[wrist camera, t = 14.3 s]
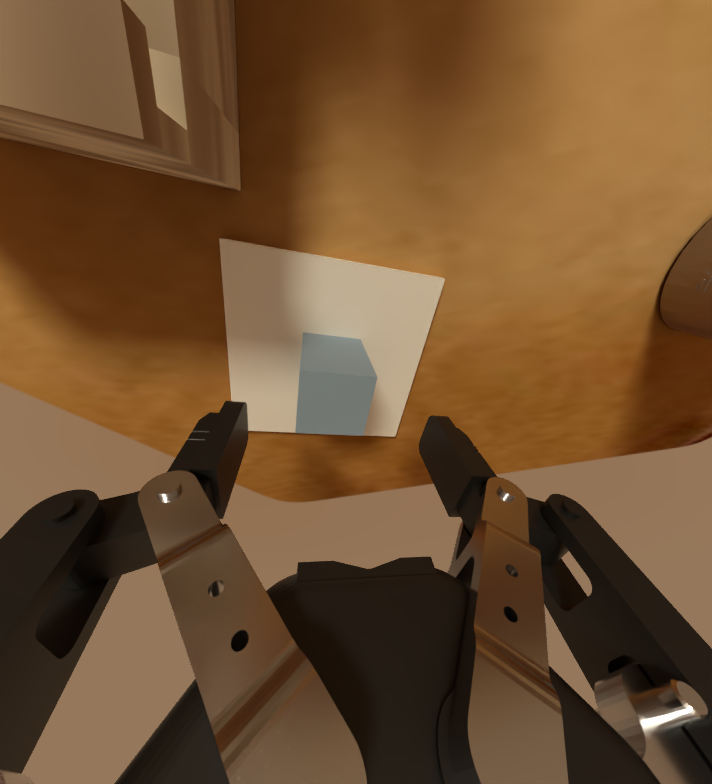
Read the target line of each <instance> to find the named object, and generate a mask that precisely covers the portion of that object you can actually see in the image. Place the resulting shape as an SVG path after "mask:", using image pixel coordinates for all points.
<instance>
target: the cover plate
mask: <svg viewBox="0 0 712 784" xmlns="http://www.w3.org/2000/svg"><path fill="white" fill-rule="evenodd" d="M219 243H220V256H221V270H222V283H223V296H224V309H225V322H226V335H227V348H228V361H229V374H230V387H231V400H232V401H236V402H246V403H247V414H248V431H267V432H292V433H306V434H331V435H356V436H364V435H366V436H391V437H395V436H396V433H397V430H398V426H399V423H400V420H401V417H402V414H403V411H404V407H405V404H406V401H407V398H408V395H409V392H410V389H411V385H412V382H413V379H414V376H415V373H416V370H417V366H418V363H419V360H420V357H421V354H422V351H423V348H424V344H425V341H426V338H427V335H428V332H429V329H430V325H431V322H432V319H433V316H434V313H435V310H436V307H437V303H438V300H439V297H440V294H441V291H442V288H443V284H444V281H445V279H444V278H441V277H436V276H430V275H425V274H419V273H414V272H408V271H403V270H397V269H392V268H386V267H381V266H375V265H370V264H364V263H359V262H353V261H348V260H342V259H337V258H331V257H325V256H320V255H314V254H309V253H303V252H298V251H292V250H287V249H281V248H276V247H270V246H265V245H259V244H254V243H248V242H243V241H237V240H232V239H226V238H219Z"/></svg>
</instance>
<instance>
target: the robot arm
mask: <svg viewBox="0 0 712 784" xmlns="http://www.w3.org/2000/svg"><path fill="white" fill-rule="evenodd" d="M660 311H661V316H662V319H663V320H664V322H665V323H666V325H667V326H669V327H671V328H672V329H674V330H678V331H681V332H685V333H689V334H692V335H696V336H699V337H703V338H707V339H710V340H712V218H711V219H710V220H709V221H708V222H707V223H706V225H705V226H704V227H703V228H702V229H701V230H700V231H699V232H698V233H697V234H696V235H695V236H694V238H693V239H692V240H691V241H690V243H689V244H688V245H687V246H686V248H685V249H684V250H683V252H682V253H681V255H680V256H679V258H678V259H677V261H676V263H675V264H674V266H673V267H672V269H671V272H670V274H669V276H668V278H667V280H666V282H665V285H664V288H663V292H662V295H661V303H660ZM247 441H248V414H247V403H246V402H236V401H225V403H224V405H223V407H222V408H221V410H220V412H219V413H209V414H207V415H206V416H204V417H203V418H202V419H200V420H199V421H198V423H197V424H196V426H195V428H194V429H193V432H192V433H191V434H190V436H189V437H188V440H187V441H186V442H185V444H184V445H183V447H182V449H181V450H180V452H179V454H178V455H177V457H176V458H175V460H174V462H173V463H172V465H171V467H170V468H169V470H168V471H167V472H166V473H163V474H161V475H158V476H156V477H155V478H153V479H151V480H150V481H149V482H147V483H146V484H145V485H144V486H143V488H142V489H141V490H140V491H138V492H134V493H131V494H126V495H122V496H117V497H113V498H108V499H104V500H99V498H98V496H97V495H96V494H95V493H94V492H92V491H89V490H72V491H66V492H63V493H60V494H57V495H54V496H52V497H49V498H47V499H45V500H43V501H42V502H40V503H38V504H37V505H35V506H34V507H32V508H31V509H30V510H28V511H27V512H26V513H25V514H24V515H23V516H22V517H21V518H20V519H19V520H18V521H17V522H16V523H15V524H14V526H13V527H12V528H11V529H10V530H9V531H8V532H7V533H6V534H5V535H4V536H3V537H2V538H1V539H0V784H34V782H33V781H32V780H31V779H30V777H28V776H26V775H24V774H21V773H22V771H23V769H24V767H25V765H26V763H27V761H28V760H29V757H30V756H31V754H32V751H33V750H34V748H35V746H36V744H37V741H38V740H39V738H40V736H41V734H42V732H43V730H44V727H45V726H46V724H47V722H48V720H49V718H50V716H51V714H52V712H53V710H54V708H55V706H56V704H57V702H58V700H59V698H60V696H61V694H62V692H63V690H64V688H65V686H66V684H67V682H68V680H69V678H70V676H71V674H72V672H73V670H74V668H75V666H76V664H77V662H78V660H79V658H80V656H81V654H82V652H83V650H84V648H85V646H86V644H87V643H88V641H89V639H90V637H91V635H92V633H93V631H94V629H95V627H96V625H97V623H98V621H99V619H100V616H101V615H102V613H103V611H104V609H105V607H106V604H107V603H108V601H109V599H110V597H111V595H112V593H113V591H114V589H115V587H116V585H117V583H118V581H119V579H120V577H121V575H122V574H126V573H128V572H132V571H135V570H138V569H140V568H143V567H147V566H150V565H153V564H155V563H158V566H159V569H160V572H161V575H162V578H163V581H164V585H165V588H166V591H167V594H168V597H169V599H170V603H171V606H172V609H173V611H174V615H175V618H176V621H177V624H178V627H179V630H180V633H181V636H182V639H183V642H184V645H185V648H186V651H187V654H188V657H189V660H190V663H191V666H192V669H193V672H194V675H195V678H196V679H195V680H194V681H193V682H192V684H191V685H190V686H189V688H188V689H187V690H186V692H185V693H184V694H183V696H182V697H181V698H180V699H179V701H178V702H177V703H176V704H175V706H174V707H173V708H172V710H171V711H170V712H169V714H168V715H167V716H166V718H165V719H164V720H163V721H162V723H161V724H160V725H159V727H158V728H157V729H156V730H155V732H154V733H153V734H152V736H151V737H150V738H149V740H148V741H147V742H146V744H145V745H144V746H143V747H142V749H141V750H140V751H139V753H138V754H137V755H136V756H135V758H134V759H133V760H132V762H131V763H130V764H129V766H128V767H127V768H126V769H125V771H124V772H123V773H122V775H121V776H120V777H119V778H118V780H117V781H116V782H115V784H712V649H711V648H710V646H709V645H708V644H707V643H706V642H705V641H704V640H703V639H702V638H701V637H700V636H699V634H698V633H697V632H696V631H695V630H694V629H693V628H692V627H691V626H690V624H689V623H688V622H687V621H686V620H685V619H684V618H683V617H682V615H681V614H680V613H679V612H678V611H677V610H676V609H675V608H674V607H673V606H672V604H671V603H670V602H669V601H668V600H667V599H666V598H665V597H664V596H663V595H662V593H661V592H660V591H659V590H658V589H657V588H656V587H655V586H654V585H653V584H652V582H651V581H650V580H649V579H648V578H647V577H646V576H645V575H644V573H643V572H642V571H641V570H640V569H639V568H638V567H637V566H636V565H635V563H634V562H633V561H632V560H631V559H630V558H629V557H628V556H627V555H626V554H625V553H624V551H623V550H622V549H621V548H620V547H619V546H618V545H617V544H616V543H615V541H614V540H613V539H612V538H611V537H610V536H609V535H608V534H607V533H606V532H605V530H604V529H603V528H602V527H601V526H600V525H599V524H598V523H597V521H596V520H595V519H594V518H593V517H592V516H591V515H590V514H589V513H588V511H586V509H584V508H583V507H582V506H581V505H580V504H578V503H577V502H576V501H574V500H572V499H571V498H568V497H566V496H564V495H560V494H552V495H550V496H549V498H548V499H547V500H546V501H545V502H542V501H539V500H535V499H532V498H528V497H526V496H525V494H524V493H523V491H522V490H521V489H519V487H517V486H516V485H515V484H513V483H512V482H510V481H508V480H506V479H504V478H500V477H497V476H496V475H495V473H494V472H493V470H492V469H491V468H490V466H489V465H488V464H487V462H486V461H485V460H484V458H483V457H482V455H481V454H480V453H478V450H477V449H476V447H475V446H473V443H472V442H471V440H470V439H469V438H468V436H467V435H466V434H465V433H463V432H462V431H461V430H460V429H458V428H456V427H455V426H454V424H453V423H452V421H451V420H450V419H449V417H446V416H430V417H429V418H428V421H427V423H426V426H425V429H424V431H423V434H422V436H421V439H420V442H419V451H420V455H421V457H422V459H423V461H424V463H425V465H426V468H427V470H428V472H429V474H430V476H431V479H432V481H433V483H434V485H435V487H436V489H437V491H438V494H439V496H440V498H441V500H442V502H443V505H444V507H445V509H446V511H447V513H448V516H449V517H461V518H462V520H463V521H462V523H461V525H460V528H459V531H458V536H457V540H456V544H455V548H454V553H453V557H452V561H451V565H450V568H449V571H448V573H446V572H444V571H442V570H439V569H436V568H434V565H433V562H432V559H431V557H410V558H399V559H396V560H394V561H391V562H388V563H385V564H383V565H380V566H378V567H375V568H372V569H365V568H361V567H357V566H353V565H348V564H344V563H340V562H336V561H319V562H298V568H297V574H294V575H292V576H289V577H287V578H285V579H283V580H281V581H279V582H278V583H276V584H275V585H273V586H272V587H271V588H269V589H268V590H267V591H266V590H265V589H264V587H263V585H262V583H261V582H260V580H259V578H258V576H257V575H256V573H255V571H254V569H253V568H252V566H251V564H250V562H249V561H248V559H247V557H246V555H245V554H244V552H243V550H242V548H241V546H240V545H239V543H238V541H237V539H236V538H235V536H234V534H233V532H232V531H231V529H230V528H229V527H228V525H227V524H224V525H223V524H222V523H221V521H220V520H219V519H222V518H223V516H224V514H225V511H226V508H227V505H228V501H229V499H230V495H231V492H232V489H233V486H234V483H235V480H236V477H237V474H238V471H239V468H240V465H241V462H242V459H243V456H244V452H245V449H246V446H247ZM568 551H570V553H571V554H572V555H573V557H574V558H575V559H576V561H577V562H578V564H579V565H580V566H581V568H582V569H583V570H584V572H585V573H586V575H587V576H588V577H589V579H590V581H591V584H592V593H591V595H590V596H587V595H586V593H585V592H584V591H583V589H582V588H581V586H580V585H579V584H578V582H577V581H576V579H575V578H574V576H573V575H572V573H571V572H570V570H569V569H568V567H567V566H566V565H565V563H564V562H563V560H562V559H561V558H562V557H563V556H564V555H565V554H566V553H567V552H568ZM544 604H545V606H546V608H547V609H548V611H549V613H550V615H551V616H552V618H553V620H554V622H555V623H556V625H557V627H558V629H559V631H560V632H561V634H562V636H563V638H564V640H565V641H566V643H567V645H568V646H569V648H570V650H571V652H572V654H573V656H574V657H575V659H576V661H577V663H578V664H579V666H580V668H581V670H582V672H583V673H584V675H585V677H586V679H587V680H588V682H589V684H590V686H591V688H592V689H593V691H594V694H595V699H596V703H597V706H598V708H597V709H595V710H594V709H593V708H592V707H591V706H590V705H589V704H588V703H587V702H586V701H585V700H584V699H583V698H582V697H581V696H579V694H577V692H575V691H574V690H573V689H572V688H571V687H570V686H569V685H568V684H567V683H566V682H565V681H564V680H563V679H562V678H561V677H560V676H559V675H558V674H557V673H556V672H555V671H554V670H553V669H552V668H551V667H550V666H549V664H548V651H547V637H546V623H545V609H544Z"/></svg>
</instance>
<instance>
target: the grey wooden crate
mask: <svg viewBox="0 0 712 784" xmlns="http://www.w3.org/2000/svg"><path fill="white" fill-rule="evenodd" d="M0 138H4V139H8V140H13V141H17V142H21V143H26V144H30V145H35V146H39V147H44V148H48V149H53V150H57V151H62V152H66V153H71V154H75V155H80V156H84V157H89V158H93V159H98V160H102V161H107V162H111V163H116V164H120V165H125V166H129V167H134V168H138V169H143V170H147V171H152V172H156V173H161V174H165V175H170V176H174V177H178V178H183V179H187V180H192V181H196V182H201V183H205V184H210V185H214V186H219V187H223V188H228V189H232V190H237V191H241V181H240V152H239V123H238V94H237V65H236V36H235V6H234V0H0Z"/></svg>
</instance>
